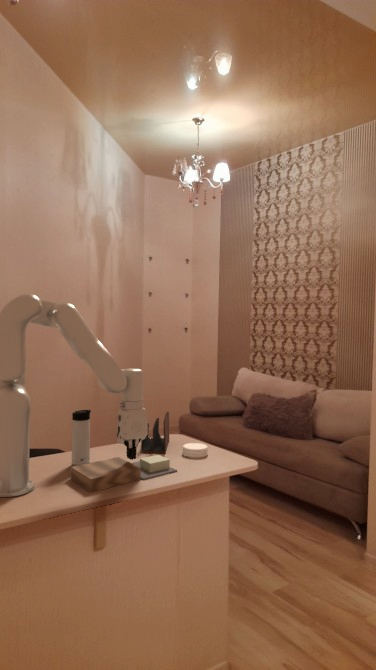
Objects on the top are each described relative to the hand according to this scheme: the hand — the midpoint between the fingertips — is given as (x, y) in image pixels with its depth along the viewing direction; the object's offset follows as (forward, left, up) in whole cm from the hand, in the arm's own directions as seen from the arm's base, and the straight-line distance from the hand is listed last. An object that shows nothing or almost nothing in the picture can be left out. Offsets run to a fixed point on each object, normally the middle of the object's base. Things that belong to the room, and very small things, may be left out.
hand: (131, 458), depth 151 cm
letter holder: (+26, +22, -6) cm, 34 cm away
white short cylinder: (+32, +4, -6) cm, 33 cm away
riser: (-10, 0, -5) cm, 11 cm away
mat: (+7, 0, -5) cm, 8 cm away
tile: (+9, -1, -3) cm, 10 cm away
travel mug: (-10, +18, -5) cm, 21 cm away
